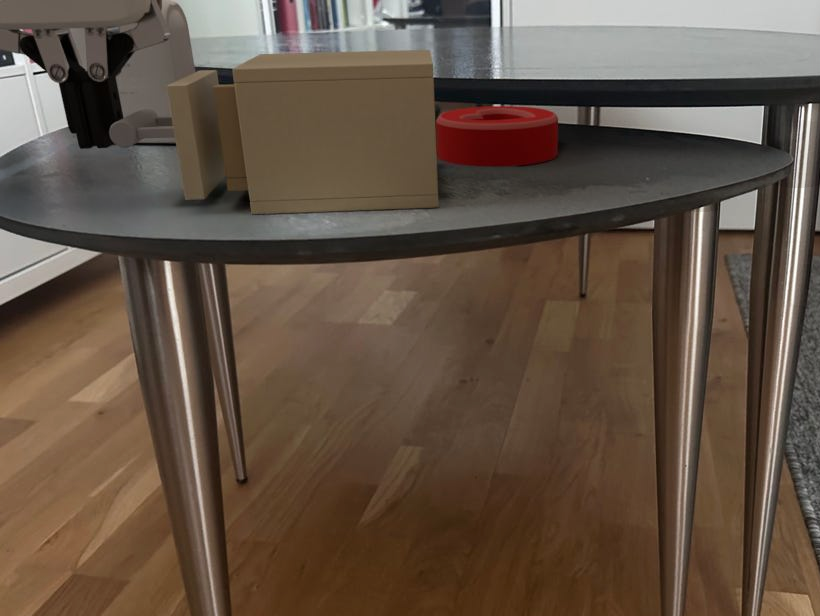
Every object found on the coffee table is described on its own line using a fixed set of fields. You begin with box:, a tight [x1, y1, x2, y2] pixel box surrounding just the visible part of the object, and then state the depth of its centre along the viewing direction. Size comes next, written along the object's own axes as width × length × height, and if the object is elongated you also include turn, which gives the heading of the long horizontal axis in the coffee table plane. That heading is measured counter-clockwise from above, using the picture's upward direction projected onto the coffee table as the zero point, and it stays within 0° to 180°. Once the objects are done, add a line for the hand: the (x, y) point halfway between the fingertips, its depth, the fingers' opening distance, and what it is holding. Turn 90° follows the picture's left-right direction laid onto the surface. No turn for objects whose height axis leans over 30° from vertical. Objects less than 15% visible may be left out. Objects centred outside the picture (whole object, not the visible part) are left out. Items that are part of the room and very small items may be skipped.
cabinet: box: [232, 49, 440, 215], centre depth 55 cm, size 12×10×9 cm
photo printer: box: [70, 0, 196, 145], centre depth 74 cm, size 10×4×12 cm, turn 78°
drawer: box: [109, 69, 248, 201], centre depth 55 cm, size 15×8×7 cm, turn 94°
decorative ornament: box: [435, 105, 559, 167], centre depth 68 cm, size 10×10×3 cm
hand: (100, 144), depth 55 cm, fingers closed
